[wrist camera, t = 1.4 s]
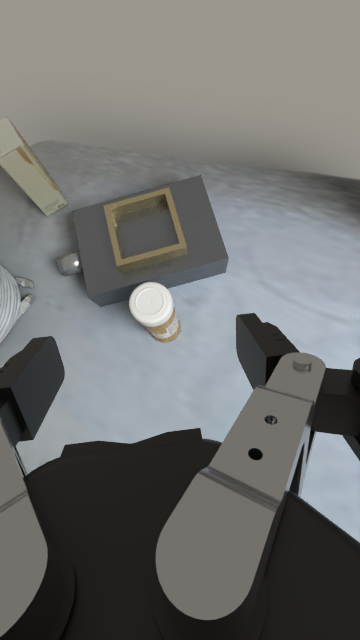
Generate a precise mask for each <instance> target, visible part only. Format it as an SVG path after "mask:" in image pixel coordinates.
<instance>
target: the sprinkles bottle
mask: <svg viewBox="0 0 360 640" xmlns="http://www.w3.org/2000/svg"><path fill="white" fill-rule="evenodd" d="M129 308H130V311H131V313H132V315H133V316H134V318H135V319H136V320H137V321H138V322H139V323H141V324H143V325H144V326H145V327H146V328H147V330H148V331H149V332H150V333H151V334H152V335H153V337H154V338H155V339H156V340H158V341H160V342H170V341H172V340H174V339H175V338H176V337H177V336H178V334H179V333H180V322H179V320H178V317H177V314H176V311H175V308H174V306H173V300H172V297H171V294H170V292H169V291H168V289H167V288H166V287H165V286H163V285H161V284H159V283H156V282H147V283H143V284H141V285H139V286H138V287H137V288H135V289H134V291H133V292H132V294H131V296H130V299H129Z"/></svg>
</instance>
